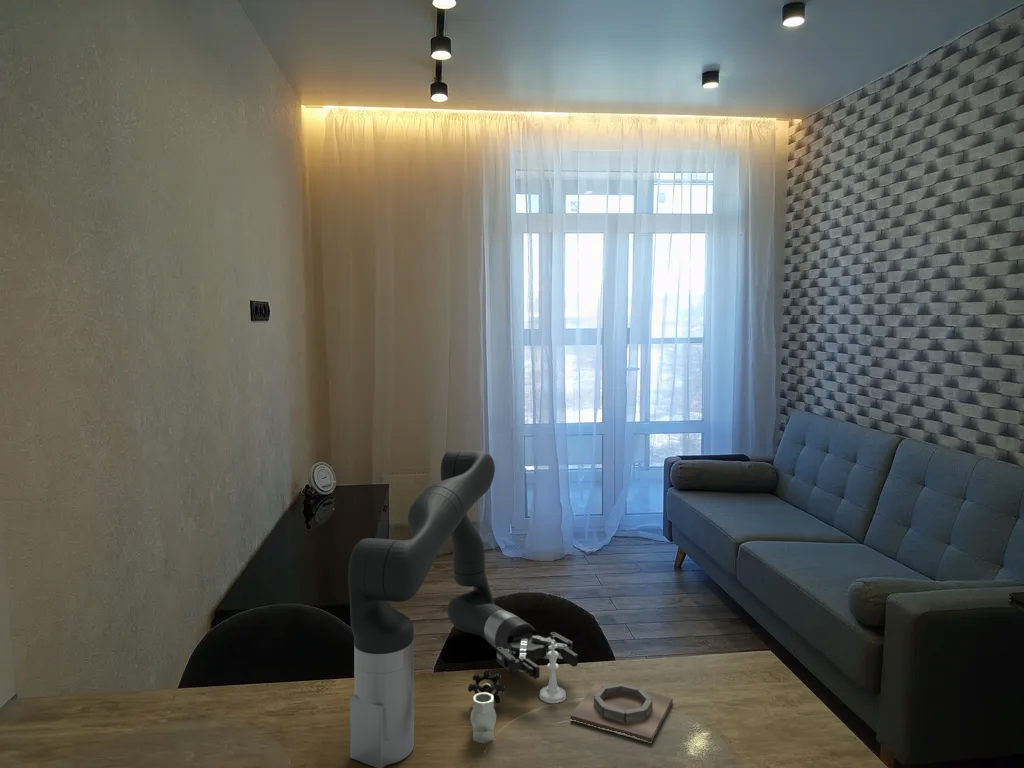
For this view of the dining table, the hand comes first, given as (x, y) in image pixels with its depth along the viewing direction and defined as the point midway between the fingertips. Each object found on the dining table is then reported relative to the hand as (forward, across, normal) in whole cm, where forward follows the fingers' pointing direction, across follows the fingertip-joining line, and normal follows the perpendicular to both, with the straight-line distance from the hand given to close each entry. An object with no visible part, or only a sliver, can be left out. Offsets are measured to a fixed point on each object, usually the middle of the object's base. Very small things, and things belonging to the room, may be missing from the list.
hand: (557, 667), depth 115 cm
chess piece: (-1, 0, +6) cm, 6 cm away
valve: (0, -15, +6) cm, 16 cm away
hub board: (+9, +7, +6) cm, 13 cm away
